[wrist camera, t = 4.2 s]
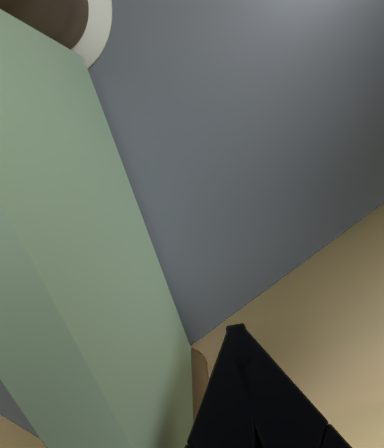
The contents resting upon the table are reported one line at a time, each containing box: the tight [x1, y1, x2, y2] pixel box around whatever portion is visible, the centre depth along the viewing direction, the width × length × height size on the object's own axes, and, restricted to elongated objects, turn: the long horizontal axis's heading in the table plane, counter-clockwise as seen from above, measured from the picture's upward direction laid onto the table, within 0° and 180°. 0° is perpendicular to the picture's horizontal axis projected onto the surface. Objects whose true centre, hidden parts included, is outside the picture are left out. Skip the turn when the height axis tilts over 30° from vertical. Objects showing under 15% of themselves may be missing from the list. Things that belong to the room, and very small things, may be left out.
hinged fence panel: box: [0, 9, 209, 448], centre depth 7 cm, size 2×12×6 cm, turn 16°
